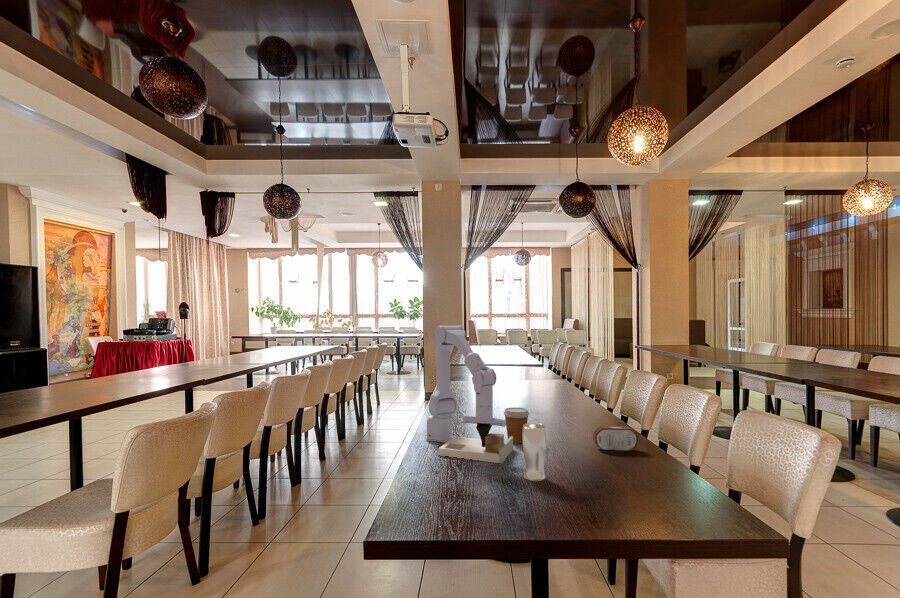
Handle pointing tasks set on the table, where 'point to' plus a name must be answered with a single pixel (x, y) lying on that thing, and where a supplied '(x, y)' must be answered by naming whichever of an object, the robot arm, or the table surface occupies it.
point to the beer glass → (534, 451)
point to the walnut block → (493, 442)
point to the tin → (615, 438)
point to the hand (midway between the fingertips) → (484, 446)
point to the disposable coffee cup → (515, 422)
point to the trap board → (474, 450)
